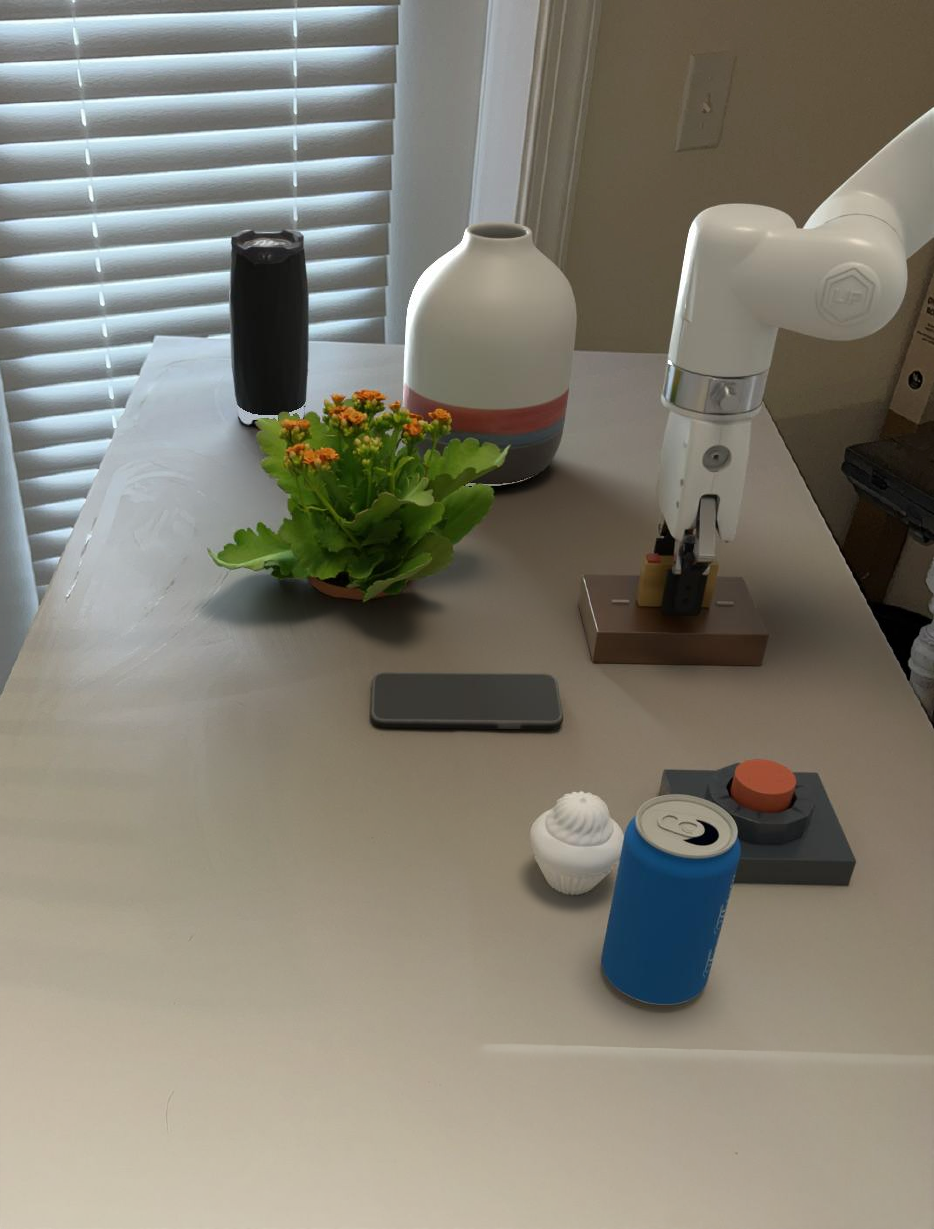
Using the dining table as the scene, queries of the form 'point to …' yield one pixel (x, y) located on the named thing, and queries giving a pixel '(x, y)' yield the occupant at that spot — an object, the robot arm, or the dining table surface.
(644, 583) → the yellow red-marked block
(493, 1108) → the dining table surface
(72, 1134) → the dining table surface
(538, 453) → the vase
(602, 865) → the muffin
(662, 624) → the plate
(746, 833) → the button block
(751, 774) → the button
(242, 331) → the portable speaker
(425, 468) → the potted flower
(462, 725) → the smartphone
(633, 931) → the beverage can
